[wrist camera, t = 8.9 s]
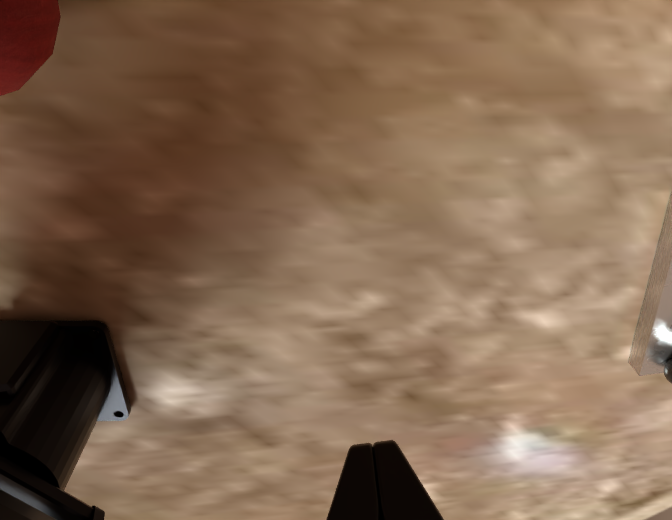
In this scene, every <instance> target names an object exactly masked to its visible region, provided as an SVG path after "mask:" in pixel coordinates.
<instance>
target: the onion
mask: <svg viewBox="0 0 672 520" xmlns="http://www.w3.org/2000/svg"><path fill="white" fill-rule="evenodd" d="M60 17H61V16H60V11H59V5H58V0H0V96H1V95H4V94H7V93H10V92H13V91H16V90H19V89H20V88H21V87H22V86H23V85H24V84H25V83H26V82H27V81H28V80H29V79H30V78H31V76H32V75H33V74H34V73H35V72H36V71H37V70H38V69H39V68H40V67H41V66H42V65H43V64H44V62H45V61H46V60H47V59H48V58H49V57H50V56H51V55H52V54H53V49H54V45H55V40H56V35H57V31H58V26H59V22H60Z"/></svg>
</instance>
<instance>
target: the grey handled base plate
mask: <svg viewBox="0 0 672 520" xmlns="http://www.w3.org/2000/svg"><path fill="white" fill-rule="evenodd" d="M628 363H629V364H630V365H631V366H632V368H633V369H634V370H635V371H636V373H637V374H638V375H639V376H642V375H650V374H658V373H664V375H665V377H666V379H667V380H668V381H669V382H671V383H672V193H671V197H670V201H669V205H668V209H667V213H666V217H665V220H664V224H663V228H662V232H661V236H660V240H659V244H658V248H657V252H656V256H655V260H654V264H653V267H652V271H651V275H650V279H649V283H648V287H647V291H646V295H645V299H644V303H643V307H642V310H641V314H640V318H639V322H638V326H637V330H636V334H635V338H634V342H633V346H632V350H631V354H630V357H629V361H628Z"/></svg>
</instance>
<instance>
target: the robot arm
mask: <svg viewBox="0 0 672 520" xmlns="http://www.w3.org/2000/svg"><path fill="white" fill-rule="evenodd" d="M93 330H95V331H97V332H99V333H96V332H94V331H93ZM130 411H131V407H130V403H129V400H128V396H127V393H126V389H125V386H124V382H123V379H122V375H121V372H120V368H119V365H118V361H117V357H116V354H115V350H114V347H113V343H112V340H111V336H110V333H109V329H108V327H107V326H106V325H105V324H104V323H102V322H100V321H0V520H104V515H105V512H104V511H103V510H101V509H99V508H98V507H96V506H92V507H91V506H89V505H87V504H86V503H84V502H82V501H81V500H79V499H77V498H75V497H74V496H72V495H70V494H68V493H67V492H65V491H64V489H65V487H66V485H67V483H68V481H69V479H70V476H71V474H72V472H73V470H74V468H75V466H76V464H77V462H78V460H79V457H80V455H81V453H82V451H83V449H84V447H85V445H86V443H87V441H88V439H89V436H90V434H91V432H92V430H93V428H94V426H95V424H96V422H97V421H122V420H125V419H127V418H128V416H129V414H130ZM373 450H374V451H373ZM327 520H444V519H443V517H442V516H441V514H440V513H439V511H438V509H437V508H436V506H435V505H434V503H433V501H432V500H431V498H430V496H429V495H428V493H427V492H426V490H425V488H424V487H423V485H422V483H421V482H420V480H419V479H418V477H417V475H416V474H415V472H414V470H413V469H412V467H411V466H410V464H409V462H408V461H407V459H406V457H405V456H404V454H403V453H402V451H401V449H400V448H399V446H398V445H397V443H396V442H395V441H393V440H389V441H381V442H375V443H374V445H373V446H372V444H370V443H365V444H357V445H352V446H351V447H350V449H349V451H348V454H347V457H346V460H345V463H344V466H343V470H342V473H341V476H340V479H339V482H338V485H337V488H336V491H335V495H334V498H333V501H332V504H331V507H330V510H329V513H328V517H327Z"/></svg>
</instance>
